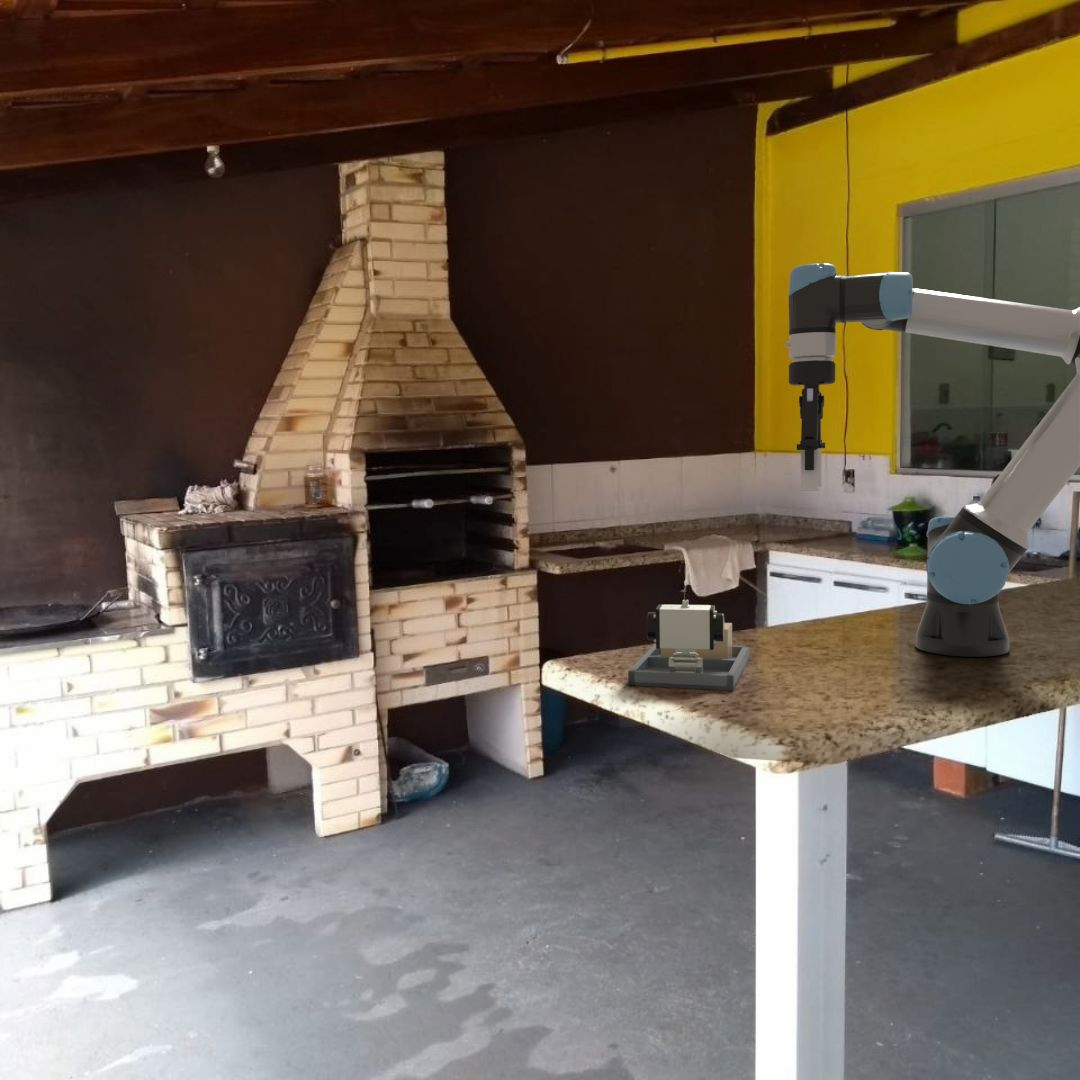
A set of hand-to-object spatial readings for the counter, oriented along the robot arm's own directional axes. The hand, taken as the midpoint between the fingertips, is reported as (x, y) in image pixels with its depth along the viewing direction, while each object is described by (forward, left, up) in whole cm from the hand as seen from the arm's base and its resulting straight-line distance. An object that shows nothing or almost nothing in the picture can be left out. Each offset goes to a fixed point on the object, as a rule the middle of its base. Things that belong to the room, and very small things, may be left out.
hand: (811, 488), depth 176 cm
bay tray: (+18, +15, -29) cm, 37 cm away
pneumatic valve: (+18, +20, -28) cm, 39 cm away
